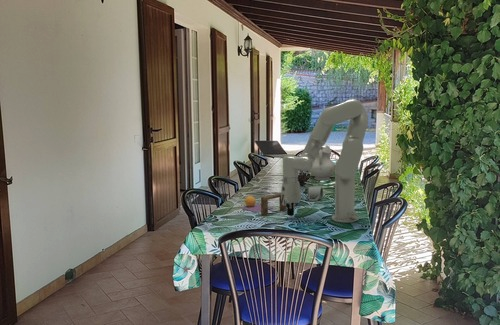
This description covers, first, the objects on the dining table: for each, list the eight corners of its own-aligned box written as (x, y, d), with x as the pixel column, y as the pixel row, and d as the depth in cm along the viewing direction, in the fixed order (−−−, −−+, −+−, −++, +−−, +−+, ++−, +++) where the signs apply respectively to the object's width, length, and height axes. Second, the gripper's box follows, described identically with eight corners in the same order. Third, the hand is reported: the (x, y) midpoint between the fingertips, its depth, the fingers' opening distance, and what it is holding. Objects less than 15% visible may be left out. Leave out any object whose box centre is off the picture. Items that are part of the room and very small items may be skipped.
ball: (253, 207, 256) (259, 203, 252) (245, 209, 252) (250, 204, 248) (249, 198, 258) (255, 193, 253) (241, 199, 254) (246, 195, 250)
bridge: (286, 211, 242) (285, 193, 240) (264, 216, 233) (264, 198, 231) (282, 210, 244) (282, 192, 243) (261, 215, 235) (260, 197, 234)
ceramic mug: (310, 197, 273) (309, 185, 272) (323, 198, 270) (323, 185, 269) (305, 201, 263) (305, 188, 262) (319, 202, 260) (319, 189, 259)
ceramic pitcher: (337, 183, 317) (340, 148, 314) (309, 181, 318) (312, 147, 314) (332, 178, 339) (334, 145, 335) (306, 176, 339) (308, 143, 335)
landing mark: (273, 208, 248) (273, 208, 248) (255, 212, 240) (255, 212, 240) (258, 204, 258) (258, 203, 258) (240, 208, 250) (240, 207, 250)
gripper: (284, 183, 218) (284, 219, 221) (306, 179, 227) (306, 214, 230) (274, 181, 224) (274, 216, 227) (295, 177, 233) (296, 211, 236)
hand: (290, 215), depth 228 cm, fingers closed
